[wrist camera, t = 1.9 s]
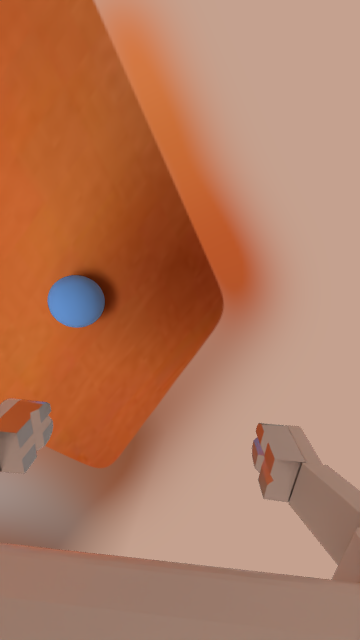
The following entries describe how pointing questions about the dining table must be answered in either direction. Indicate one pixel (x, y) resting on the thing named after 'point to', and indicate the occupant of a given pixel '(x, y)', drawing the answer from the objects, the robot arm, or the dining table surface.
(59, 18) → the dining table surface
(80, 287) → the ball
